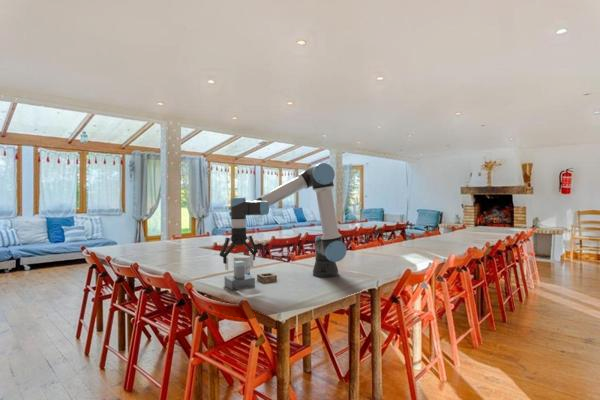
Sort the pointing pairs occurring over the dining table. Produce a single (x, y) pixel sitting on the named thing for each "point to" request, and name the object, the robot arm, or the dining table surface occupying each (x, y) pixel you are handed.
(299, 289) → the dining table surface
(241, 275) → the plug
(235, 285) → the block
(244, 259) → the ink box
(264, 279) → the brown hollow block
